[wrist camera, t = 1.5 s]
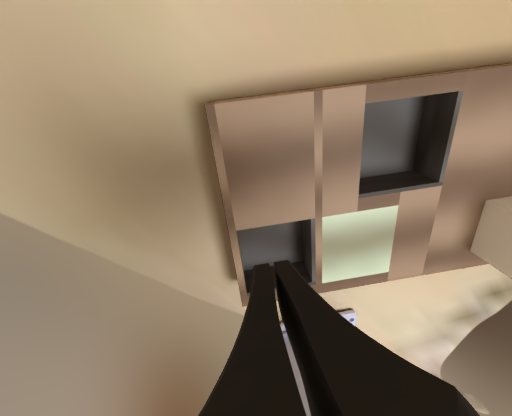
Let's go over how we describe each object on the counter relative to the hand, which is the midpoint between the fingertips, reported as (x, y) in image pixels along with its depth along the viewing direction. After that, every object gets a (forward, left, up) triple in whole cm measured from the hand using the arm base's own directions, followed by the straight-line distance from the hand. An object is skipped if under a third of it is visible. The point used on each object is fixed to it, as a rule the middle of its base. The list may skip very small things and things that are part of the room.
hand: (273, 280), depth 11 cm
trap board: (0, -10, -9) cm, 14 cm away
